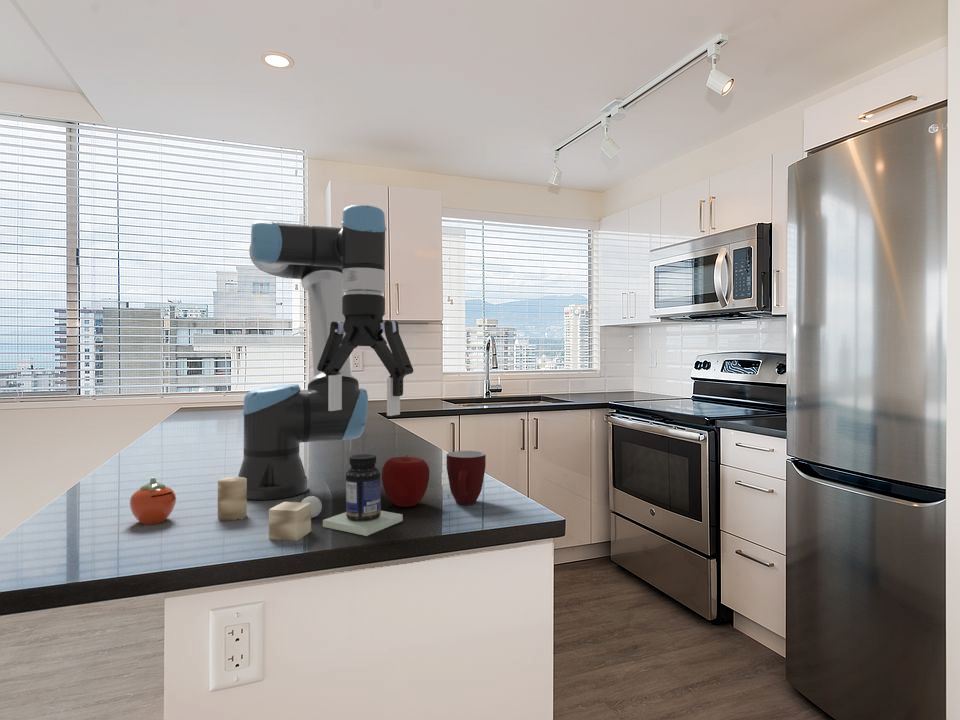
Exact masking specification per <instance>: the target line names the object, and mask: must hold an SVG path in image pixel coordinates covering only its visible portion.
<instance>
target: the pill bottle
mask: <svg viewBox="0 0 960 720" xmlns="http://www.w3.org/2000/svg"><path fill="white" fill-rule="evenodd" d="M376 464H377V455H376V454H372V453H360V454H353V455H350V456H349V465H350V468H349V469H348V470H347V471H346V474H345V502H346V503H345V506H346V508H345V510H346V511H345V512H346V516H347V518H348V519H350V520H353V521H368V520H373V519H376V518H378V517H379V516H380V514H381V511H382V510H381V507H382V505H381V503H382V501H381V472H380V469H378V468H377V467H376Z"/></svg>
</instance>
